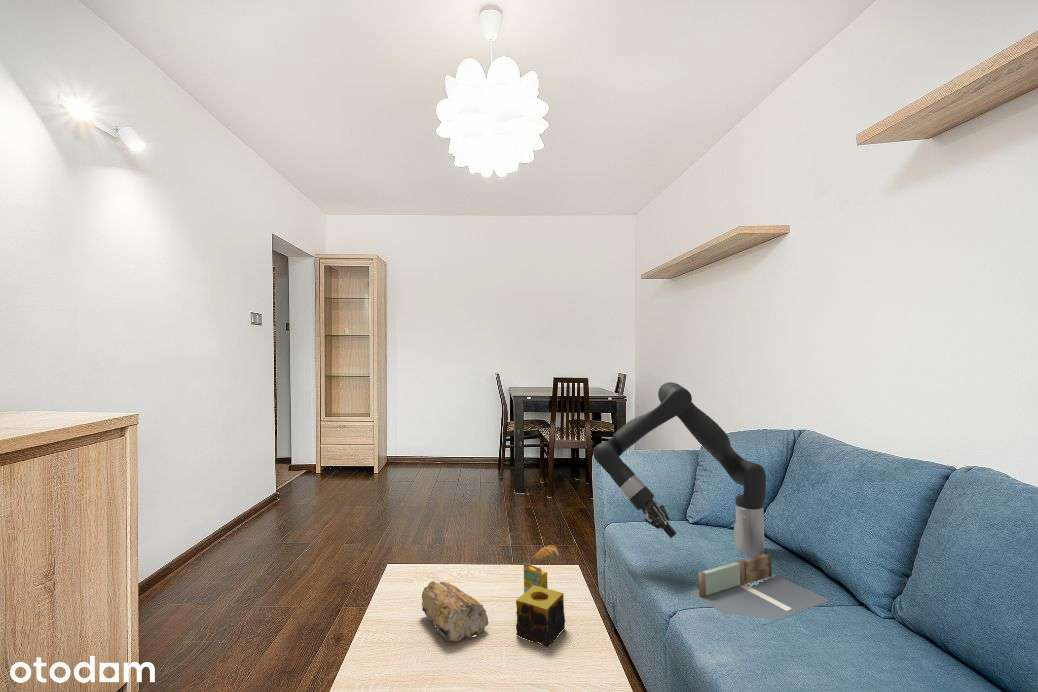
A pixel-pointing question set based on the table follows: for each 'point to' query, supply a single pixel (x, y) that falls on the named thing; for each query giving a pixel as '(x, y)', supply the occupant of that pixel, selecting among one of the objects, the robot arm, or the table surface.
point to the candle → (540, 615)
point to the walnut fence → (757, 568)
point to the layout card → (763, 599)
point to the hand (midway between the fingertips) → (673, 535)
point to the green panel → (721, 578)
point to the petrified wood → (453, 611)
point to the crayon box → (534, 577)
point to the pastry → (546, 554)
